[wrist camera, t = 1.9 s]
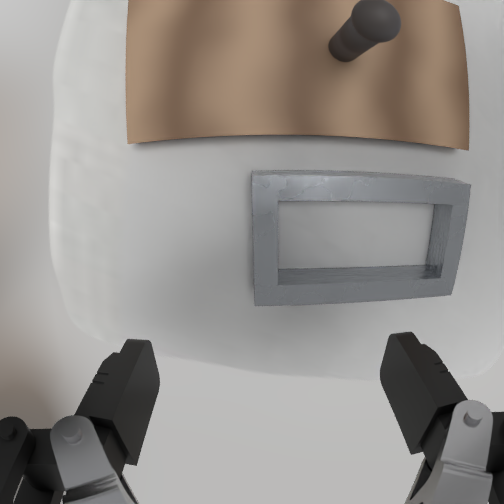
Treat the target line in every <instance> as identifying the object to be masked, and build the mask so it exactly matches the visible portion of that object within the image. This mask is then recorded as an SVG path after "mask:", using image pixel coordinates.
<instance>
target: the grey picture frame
mask: <svg viewBox="0 0 504 504" xmlns="http://www.w3.org/2000/svg"><path fill="white" fill-rule="evenodd" d="M470 188H471V185H470V184H467V183H464V182H461V181H458V180H455V179H451V178H441V177H431V176H419V175H406V174H391V173H374V172H351V171H312V170H266V171H252V214H253V257H254V301H255V306H281V305H311V304H334V303H354V302H370V301H385V300H399V299H412V298H424V297H435V296H446V295H451V294H452V290H453V286H454V282H455V278H456V274H457V269H458V264H459V260H460V255H461V250H462V244H463V239H464V233H465V227H466V220H467V213H468V206H469V197H470ZM278 201H375V202H406V203H429V204H435V207H434V216H433V223H432V231H431V238H430V244H429V250H428V256H427V262H426V265H413V266H386V267H356V268H322V269H281V270H278Z"/></svg>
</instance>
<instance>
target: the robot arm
mask: <svg viewBox="0 0 504 504" xmlns="http://www.w3.org/2000/svg"><path fill="white" fill-rule="evenodd" d="M380 380H381V384H382V386H383V389H384V391H385V393H386V395H387V398H388V400H389V403H390V405H391V407H392V410H393V412H394V414H395V417H396V419H397V421H398V424H399V426H400V429H401V431H402V433H403V436H404V438H405V441H406V443H407V446H408V448H409V451H410V453H411V454H416V453H420V452H424V455H425V458H424V459H423V461H422V463H421V466H420V469H419V471H418V474H417V477H416V479H415V481H414V484H413V486H412V488H411V491H410V493H409V495H408V497H407V499H406V502H405V504H487V503H488V502H489V504H504V412H491V411H490V409H489V408H488V407H487V406H486V405H484V404H483V403H481V402H479V401H475V400H468V399H467V398H466V396H465V395H464V393H463V391H462V390H461V388H460V387H459V385H458V384H457V382H456V381H455V379H454V378H453V376H452V375H451V373H450V372H448V369H447V367H446V366H445V365H444V364H443V363H442V360H441V359H440V357H439V356H438V354H437V353H436V352H435V351H434V350H432V349H431V348H430V347H428V346H427V345H425V344H422V345H421V344H420V342H419V341H418V339H417V338H416V336H415V335H414V334H413V333H412V332H404V333H396V334H391V335H390V336H389V338H388V342H387V346H386V350H385V353H384V357H383V361H382V365H381V368H380ZM159 386H160V378H159V372H158V368H157V365H156V360H155V356H154V352H153V348H152V344H151V342H150V341H149V340H137V339H127V340H126V342H125V344H124V345H123V347H122V349H121V351H120V353H112V354H111V355H110V356H109V357H108V358H107V359H105V360H104V361H103V362H102V364H101V366H100V368H99V369H98V371H97V374H96V375H95V377H94V379H93V383H91V384H90V386H89V388H88V390H87V392H86V394H85V395H84V397H83V399H82V401H81V403H80V405H79V407H78V409H77V411H76V413H75V414H74V415H71V416H66V417H64V418H62V419H60V420H59V421H57V422H56V423H55V424H54V426H53V427H52V429H29V428H28V427H27V425H26V424H25V422H24V421H23V420H21V419H20V418H18V417H7V418H4V419H2V420H0V504H13V499H14V495H15V493H16V490H17V488H18V485H19V483H20V480H21V478H22V477H23V480H22V483H21V485H20V488H19V491H18V493H17V496H16V498H15V501H14V504H60V502H61V499H62V501H63V504H139V502H138V500H137V499H136V497H135V496H134V494H133V492H132V490H131V488H130V486H129V484H128V483H127V481H126V479H125V477H124V475H123V473H122V471H123V468H124V465H125V464H130V465H136V466H137V462H138V459H139V455H140V452H141V448H142V445H143V441H144V438H145V435H146V431H147V428H148V424H149V421H150V418H151V414H152V411H153V408H154V405H155V401H156V398H157V395H158V392H159ZM64 491H66V495H63V492H64Z"/></svg>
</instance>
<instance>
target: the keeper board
mask: <svg viewBox="0 0 504 504" xmlns="http://www.w3.org/2000/svg"><path fill="white" fill-rule="evenodd" d="M126 119H127V139H128V144H133V143H141V142H150V141H160V140H170V139H182V138H195V137H210V136H231V135H326V136H347V137H362V138H375V139H387V140H397V141H406V142H415V143H423V144H430V145H437V146H444V147H451V148H457V149H463V150H469V88H468V73H467V61H466V52H465V43H464V36H463V29H462V23H461V17H460V11H459V6H458V5H455V4H452V3H450V2H447V1H444V0H129V2H128V16H127V35H126Z"/></svg>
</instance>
